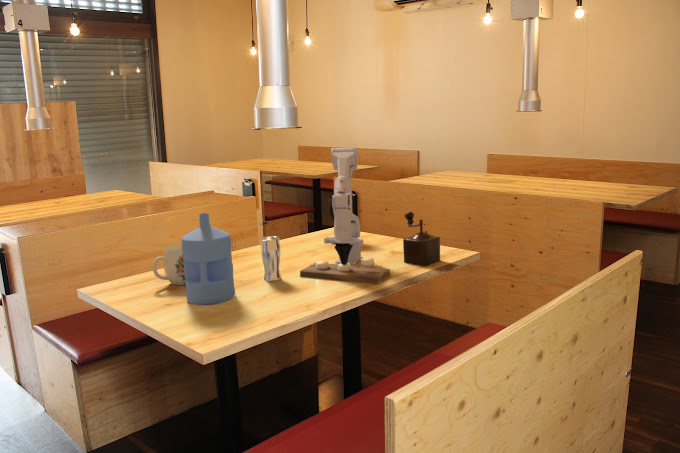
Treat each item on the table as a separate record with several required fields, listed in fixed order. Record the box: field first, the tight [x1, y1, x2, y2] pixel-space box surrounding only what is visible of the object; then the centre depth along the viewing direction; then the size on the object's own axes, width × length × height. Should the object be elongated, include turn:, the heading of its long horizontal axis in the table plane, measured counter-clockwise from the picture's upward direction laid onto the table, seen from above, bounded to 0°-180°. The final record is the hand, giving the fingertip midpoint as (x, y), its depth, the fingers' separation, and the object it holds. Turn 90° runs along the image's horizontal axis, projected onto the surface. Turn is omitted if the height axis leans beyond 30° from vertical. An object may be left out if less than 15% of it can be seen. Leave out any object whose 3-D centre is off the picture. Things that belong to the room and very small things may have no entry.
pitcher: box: [152, 242, 186, 286], centre depth 219 cm, size 11×18×14 cm, turn 132°
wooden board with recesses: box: [299, 262, 391, 285], centre depth 221 cm, size 12×30×2 cm, turn 64°
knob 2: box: [337, 263, 352, 272], centre depth 220 cm, size 5×5×2 cm
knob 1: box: [315, 260, 329, 270], centre depth 224 cm, size 5×5×2 cm
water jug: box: [181, 212, 236, 306], centre depth 199 cm, size 16×16×28 cm
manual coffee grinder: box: [402, 211, 441, 267], centre depth 235 cm, size 16×11×18 cm
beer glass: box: [260, 235, 282, 282], centre depth 219 cm, size 7×7×15 cm
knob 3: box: [359, 257, 375, 267], centre depth 216 cm, size 5×5×2 cm
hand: (344, 263), depth 220 cm, fingers closed
